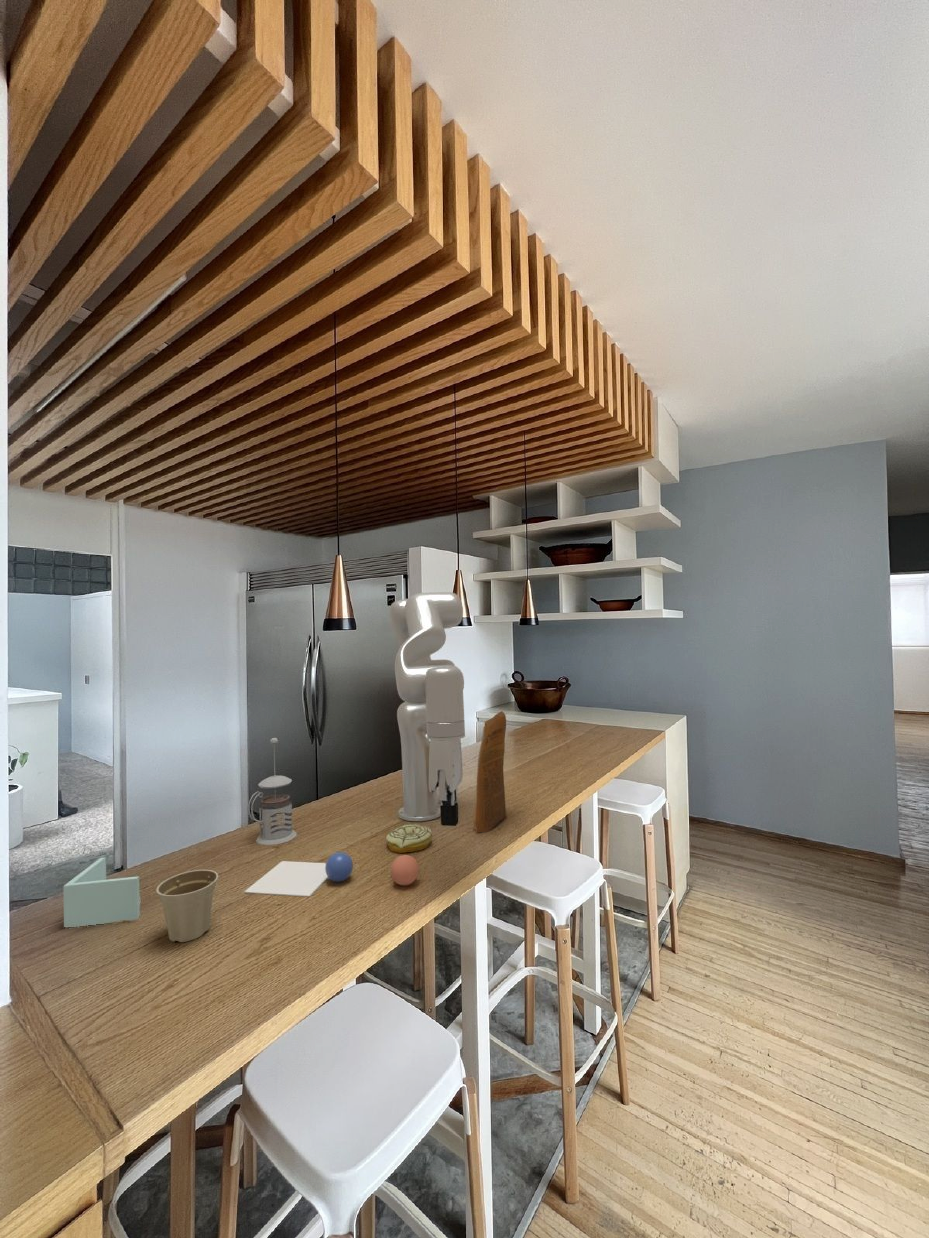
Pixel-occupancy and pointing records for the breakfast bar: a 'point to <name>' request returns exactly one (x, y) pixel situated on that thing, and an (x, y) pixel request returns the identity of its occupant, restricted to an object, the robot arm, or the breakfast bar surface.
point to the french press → (274, 811)
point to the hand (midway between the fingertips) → (449, 824)
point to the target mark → (291, 879)
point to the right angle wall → (100, 897)
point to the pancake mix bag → (491, 776)
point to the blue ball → (339, 866)
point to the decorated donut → (409, 838)
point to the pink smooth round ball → (404, 870)
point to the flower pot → (188, 903)
